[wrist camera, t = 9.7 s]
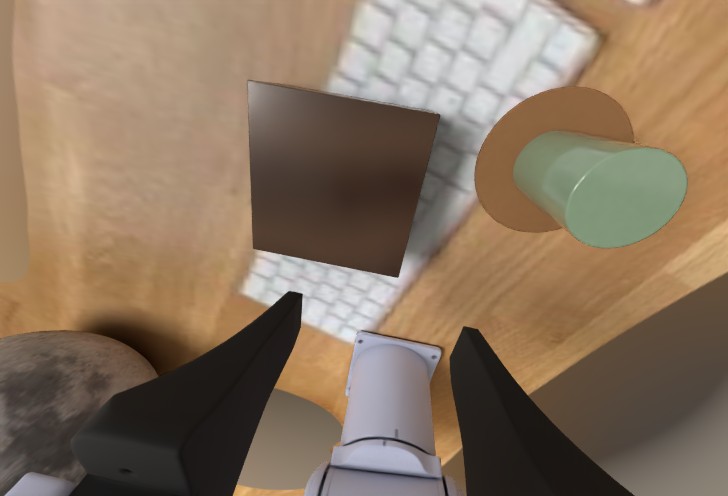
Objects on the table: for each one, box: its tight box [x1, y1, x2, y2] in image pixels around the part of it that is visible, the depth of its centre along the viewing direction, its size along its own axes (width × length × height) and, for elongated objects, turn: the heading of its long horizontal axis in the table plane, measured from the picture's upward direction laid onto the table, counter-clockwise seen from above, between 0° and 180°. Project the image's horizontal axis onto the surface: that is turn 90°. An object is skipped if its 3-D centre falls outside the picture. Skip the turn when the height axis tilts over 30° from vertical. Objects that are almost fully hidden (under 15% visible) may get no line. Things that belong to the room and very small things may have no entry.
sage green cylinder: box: [513, 130, 688, 248], centre depth 15 cm, size 4×4×7 cm
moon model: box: [0, 330, 159, 496], centre depth 25 cm, size 20×20×20 cm
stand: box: [247, 80, 440, 278], centre depth 19 cm, size 10×10×4 cm
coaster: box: [475, 87, 633, 232], centre depth 18 cm, size 9×9×1 cm
